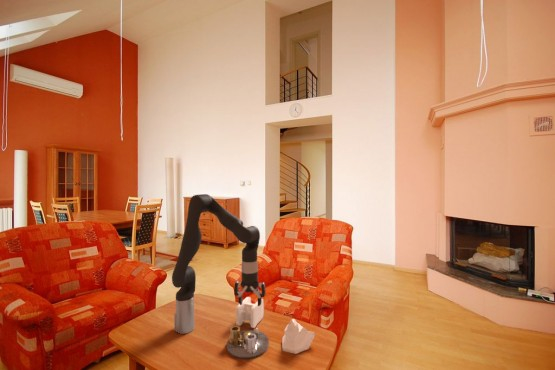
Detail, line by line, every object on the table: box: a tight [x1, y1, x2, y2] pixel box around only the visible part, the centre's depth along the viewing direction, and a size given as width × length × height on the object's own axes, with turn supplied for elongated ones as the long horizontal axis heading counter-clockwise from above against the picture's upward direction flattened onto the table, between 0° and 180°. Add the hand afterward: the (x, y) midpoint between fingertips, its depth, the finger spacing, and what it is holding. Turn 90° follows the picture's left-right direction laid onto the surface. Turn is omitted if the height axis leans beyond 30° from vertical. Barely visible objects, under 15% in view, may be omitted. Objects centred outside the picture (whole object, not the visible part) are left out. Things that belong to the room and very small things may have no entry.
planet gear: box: [244, 334, 259, 354], centre depth 120 cm, size 6×6×6 cm
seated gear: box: [228, 325, 242, 345], centre depth 127 cm, size 6×6×6 cm
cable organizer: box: [235, 296, 265, 329], centre depth 147 cm, size 15×11×12 cm
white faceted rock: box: [281, 318, 316, 355], centre depth 124 cm, size 12×15×14 cm
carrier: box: [226, 327, 270, 360], centre depth 126 cm, size 20×20×6 cm
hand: (250, 304), depth 121 cm, fingers open, 8 cm apart
